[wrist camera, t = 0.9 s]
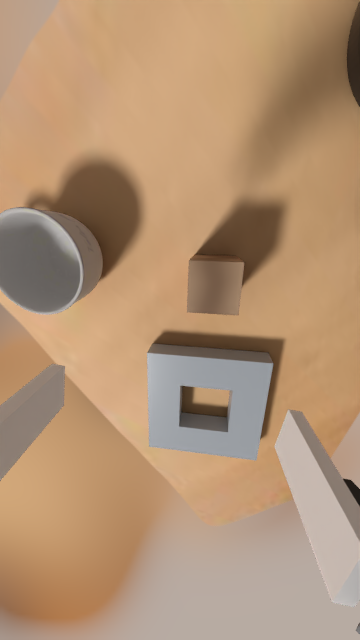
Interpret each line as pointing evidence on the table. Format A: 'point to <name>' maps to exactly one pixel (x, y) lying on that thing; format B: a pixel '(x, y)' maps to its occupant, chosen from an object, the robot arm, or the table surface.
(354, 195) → the table surface
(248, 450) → the housing
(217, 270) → the peg
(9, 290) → the teacup
